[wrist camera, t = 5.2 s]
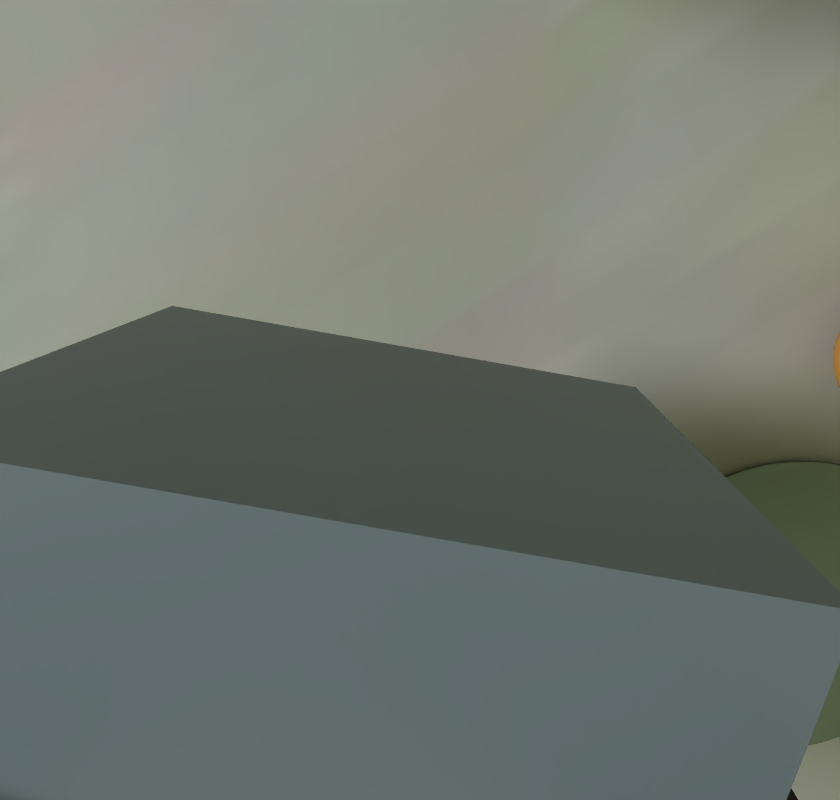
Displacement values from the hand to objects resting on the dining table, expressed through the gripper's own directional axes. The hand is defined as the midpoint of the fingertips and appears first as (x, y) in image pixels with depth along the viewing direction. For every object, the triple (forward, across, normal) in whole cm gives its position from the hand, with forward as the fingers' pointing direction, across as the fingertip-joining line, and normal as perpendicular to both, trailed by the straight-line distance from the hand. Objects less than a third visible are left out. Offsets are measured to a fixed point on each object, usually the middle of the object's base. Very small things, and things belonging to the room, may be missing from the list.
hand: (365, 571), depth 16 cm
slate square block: (+1, 0, 0) cm, 1 cm away
